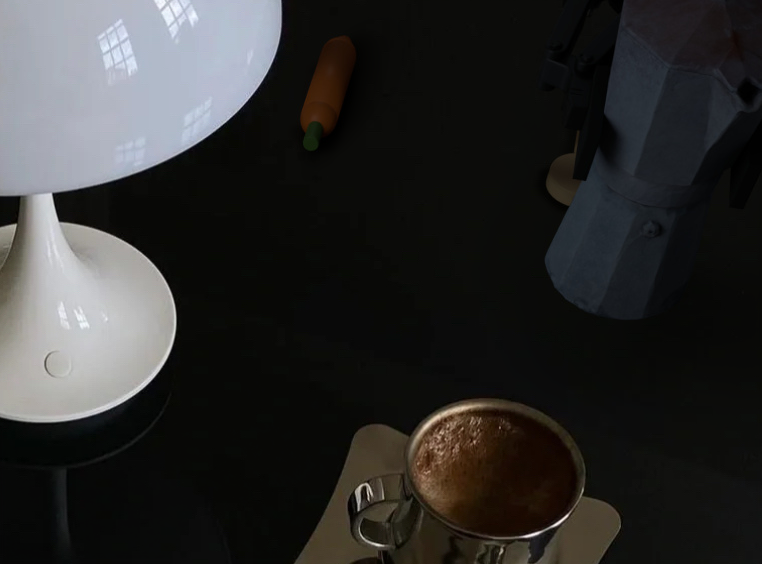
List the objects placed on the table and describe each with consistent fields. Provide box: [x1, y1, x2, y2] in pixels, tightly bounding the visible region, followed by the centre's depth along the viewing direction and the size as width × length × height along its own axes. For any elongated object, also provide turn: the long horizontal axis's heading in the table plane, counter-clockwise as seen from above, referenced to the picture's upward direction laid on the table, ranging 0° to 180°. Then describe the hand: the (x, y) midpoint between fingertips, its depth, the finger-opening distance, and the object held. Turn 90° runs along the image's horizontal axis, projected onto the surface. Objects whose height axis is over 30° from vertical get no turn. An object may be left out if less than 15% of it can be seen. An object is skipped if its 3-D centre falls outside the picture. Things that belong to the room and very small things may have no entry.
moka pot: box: [543, 0, 762, 321], centre depth 74 cm, size 10×15×20 cm, turn 12°
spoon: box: [545, 130, 582, 207], centre depth 101 cm, size 15×5×2 cm, turn 166°
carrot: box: [299, 34, 357, 152], centre depth 102 cm, size 14×3×3 cm, turn 166°
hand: (665, 172), depth 71 cm, fingers closed on moka pot, 8 cm apart
